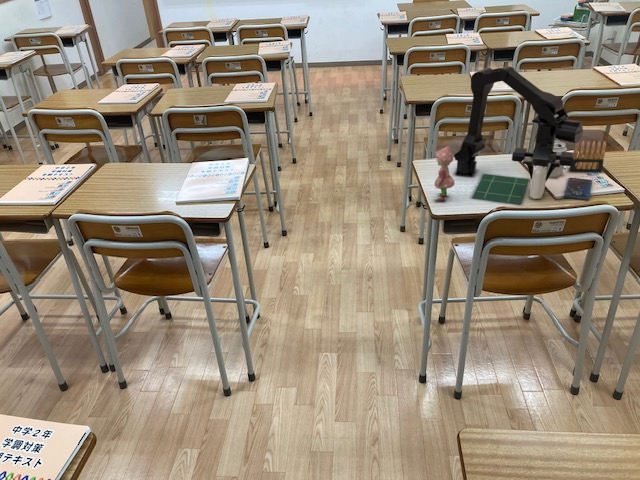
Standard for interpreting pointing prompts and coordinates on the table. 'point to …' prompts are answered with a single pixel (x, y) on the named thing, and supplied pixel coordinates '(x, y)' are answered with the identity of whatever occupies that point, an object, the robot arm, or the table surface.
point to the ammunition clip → (588, 158)
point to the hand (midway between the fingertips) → (539, 179)
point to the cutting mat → (501, 189)
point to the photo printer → (538, 181)
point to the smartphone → (578, 188)
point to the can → (558, 148)
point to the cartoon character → (444, 171)
